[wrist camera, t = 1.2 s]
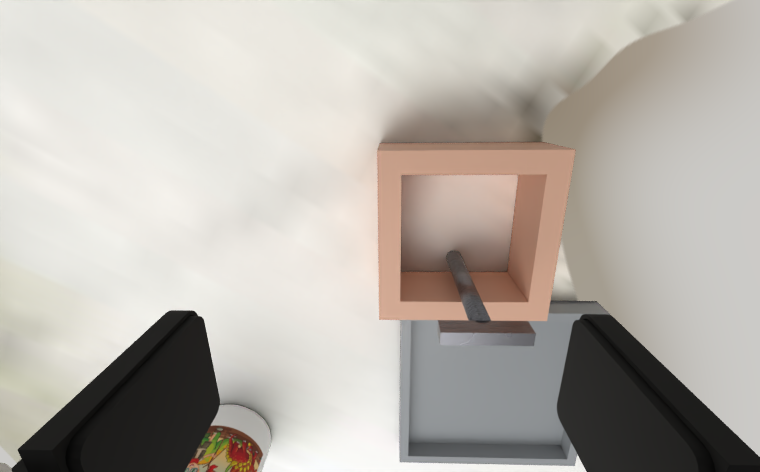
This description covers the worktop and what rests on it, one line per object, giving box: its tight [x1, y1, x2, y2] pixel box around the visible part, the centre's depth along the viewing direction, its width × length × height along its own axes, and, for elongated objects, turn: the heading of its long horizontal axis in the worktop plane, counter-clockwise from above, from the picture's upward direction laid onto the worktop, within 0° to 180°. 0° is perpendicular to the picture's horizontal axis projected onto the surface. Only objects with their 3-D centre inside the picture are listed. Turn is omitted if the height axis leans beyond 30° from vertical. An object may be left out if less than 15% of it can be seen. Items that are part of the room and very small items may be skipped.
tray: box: [399, 301, 610, 466], centre depth 33 cm, size 17×17×2 cm
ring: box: [377, 142, 576, 321], centre depth 26 cm, size 12×12×5 cm
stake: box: [437, 251, 536, 346], centre depth 25 cm, size 1×5×11 cm, turn 90°
